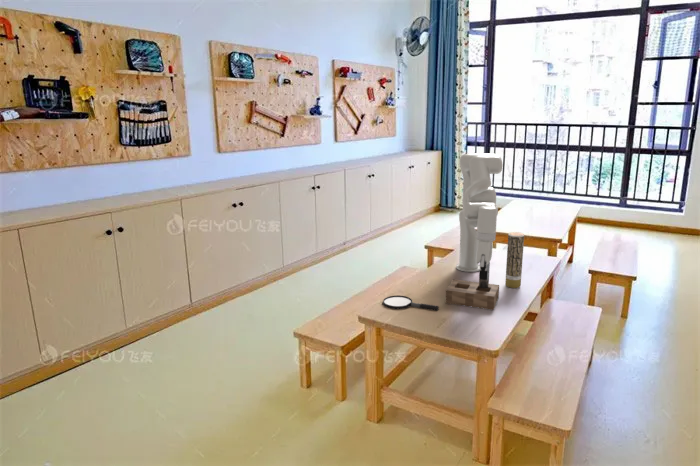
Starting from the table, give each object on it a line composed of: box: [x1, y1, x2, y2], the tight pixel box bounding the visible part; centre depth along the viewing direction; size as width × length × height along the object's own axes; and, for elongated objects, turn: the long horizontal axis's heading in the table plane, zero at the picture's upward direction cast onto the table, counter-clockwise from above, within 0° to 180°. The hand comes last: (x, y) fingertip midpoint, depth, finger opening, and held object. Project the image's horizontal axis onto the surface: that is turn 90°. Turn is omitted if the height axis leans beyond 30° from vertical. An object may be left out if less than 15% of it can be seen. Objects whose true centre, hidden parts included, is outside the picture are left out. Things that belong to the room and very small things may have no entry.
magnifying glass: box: [382, 295, 439, 312], centre depth 206 cm, size 12×24×2 cm, turn 63°
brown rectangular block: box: [445, 278, 500, 311], centre depth 209 cm, size 14×20×6 cm
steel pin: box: [478, 261, 491, 289], centre depth 204 cm, size 4×4×12 cm
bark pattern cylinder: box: [504, 231, 525, 289], centre depth 222 cm, size 7×7×25 cm
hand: (484, 277), depth 205 cm, fingers closed on steel pin, 4 cm apart
